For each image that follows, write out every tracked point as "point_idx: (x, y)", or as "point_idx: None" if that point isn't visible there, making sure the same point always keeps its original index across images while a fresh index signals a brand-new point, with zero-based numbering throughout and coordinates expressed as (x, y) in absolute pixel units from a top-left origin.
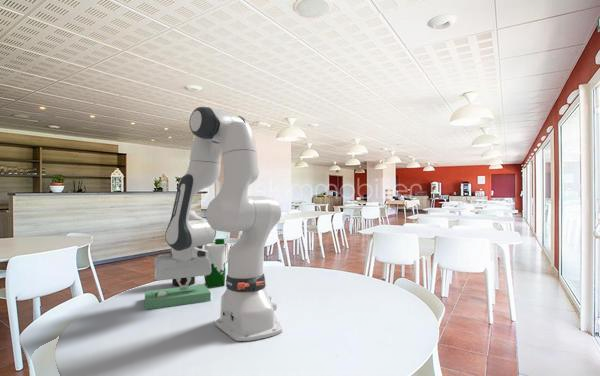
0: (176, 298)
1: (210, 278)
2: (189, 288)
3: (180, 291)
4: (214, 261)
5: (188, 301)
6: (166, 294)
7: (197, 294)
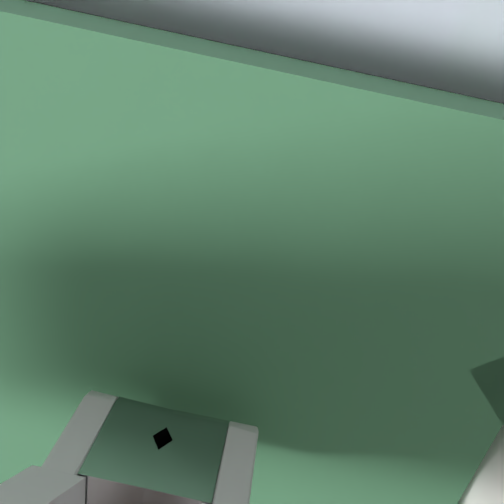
0: (462, 108)
1: None
2: None
3: None
4: None
5: (205, 44)
6: (493, 457)
7: None
